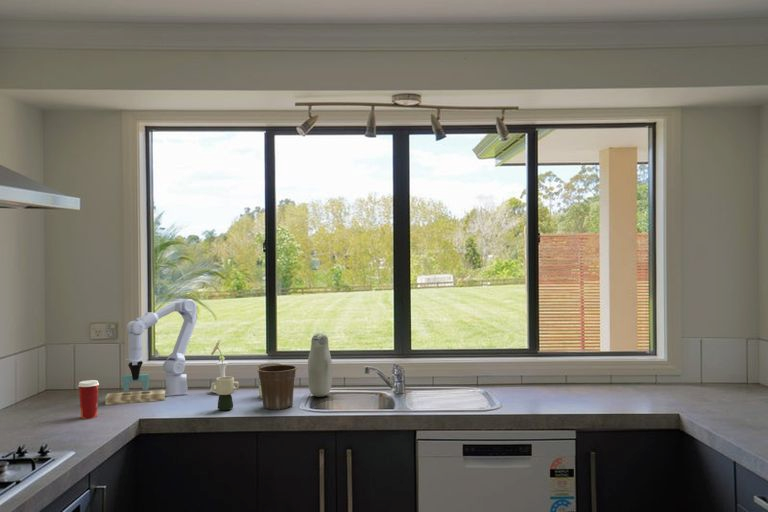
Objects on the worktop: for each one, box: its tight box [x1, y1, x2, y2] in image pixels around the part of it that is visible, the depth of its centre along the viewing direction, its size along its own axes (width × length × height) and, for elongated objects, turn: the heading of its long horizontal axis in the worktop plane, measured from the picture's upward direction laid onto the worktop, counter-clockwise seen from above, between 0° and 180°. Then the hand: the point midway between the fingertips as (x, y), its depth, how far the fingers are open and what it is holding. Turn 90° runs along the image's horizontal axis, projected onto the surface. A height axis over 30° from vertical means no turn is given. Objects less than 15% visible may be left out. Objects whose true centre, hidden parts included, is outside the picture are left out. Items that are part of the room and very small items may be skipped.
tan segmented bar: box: [104, 389, 166, 406], centre depth 284 cm, size 24×9×3 cm, turn 108°
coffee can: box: [257, 362, 282, 399], centre depth 289 cm, size 10×10×14 cm
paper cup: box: [77, 379, 100, 420], centre depth 255 cm, size 8×8×14 cm
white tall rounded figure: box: [307, 333, 333, 398], centre depth 287 cm, size 10×10×28 cm
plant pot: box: [256, 364, 297, 411], centre depth 269 cm, size 16×16×16 cm
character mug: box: [210, 376, 240, 411], centre depth 264 cm, size 11×7×13 cm, turn 102°
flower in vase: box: [209, 339, 236, 394], centre depth 298 cm, size 13×11×25 cm
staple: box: [121, 373, 150, 392], centre depth 284 cm, size 11×3×6 cm, turn 108°
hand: (135, 379), depth 284 cm, fingers closed on staple, 3 cm apart
